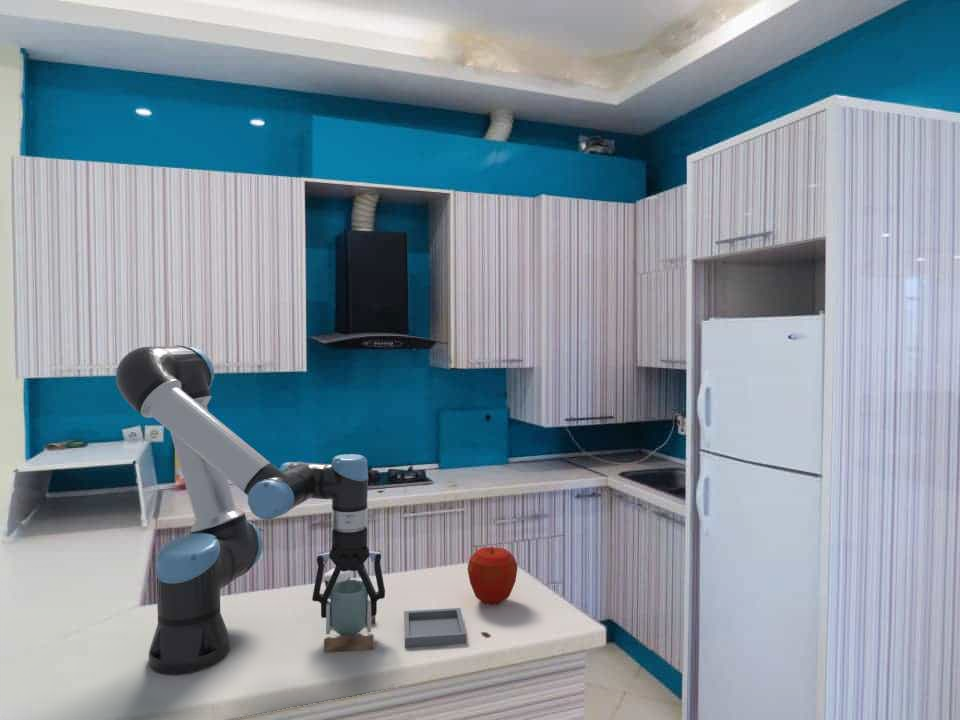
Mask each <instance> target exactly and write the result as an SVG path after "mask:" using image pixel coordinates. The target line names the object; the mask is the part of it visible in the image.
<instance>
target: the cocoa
mask: <svg viewBox="0 0 960 720" xmlns="http://www.w3.org/2000/svg"><path fill="white" fill-rule="evenodd" d="M334 569H335V567H333V568H331V569H330V570H329V571H327V572H325V573H324V574H323V578H324V585H325V588H326V587H327V584H328V582H329V580H330V578H331V576H332V573H333V571H334ZM350 576H351V571H350V570H348V571H341V572H340V574H339V576H338V578H337V580H336V582H335V583H337V582H340V581H344V580H351V578H350Z"/></svg>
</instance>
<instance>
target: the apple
mask: <svg viewBox="0 0 960 720" xmlns="http://www.w3.org/2000/svg"><path fill="white" fill-rule="evenodd" d="M517 573H518V563H517V562H516V558H515V556H514V555H513V554H512V553H511V552H510V551H509V550H507V549H506V548H503V547H494V546H493V545H491V546H487V547H486V546H485V547H480V548H478V549H477V550H475V552H473V553H472V554H471V555H470V556H469V561H468V564H467V574H468V578H469V584H470V587H471V589H472V591H473V593H474V596H475V598H476V599H477V600H479V601H480V602H482V604H484V605H488V606H497V605H500V604H501V603H503V602H505V601H506V600H508V598H509V597H510V595H511V593H512V591H513V588H514V586H515V583H516V580H517Z"/></svg>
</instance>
